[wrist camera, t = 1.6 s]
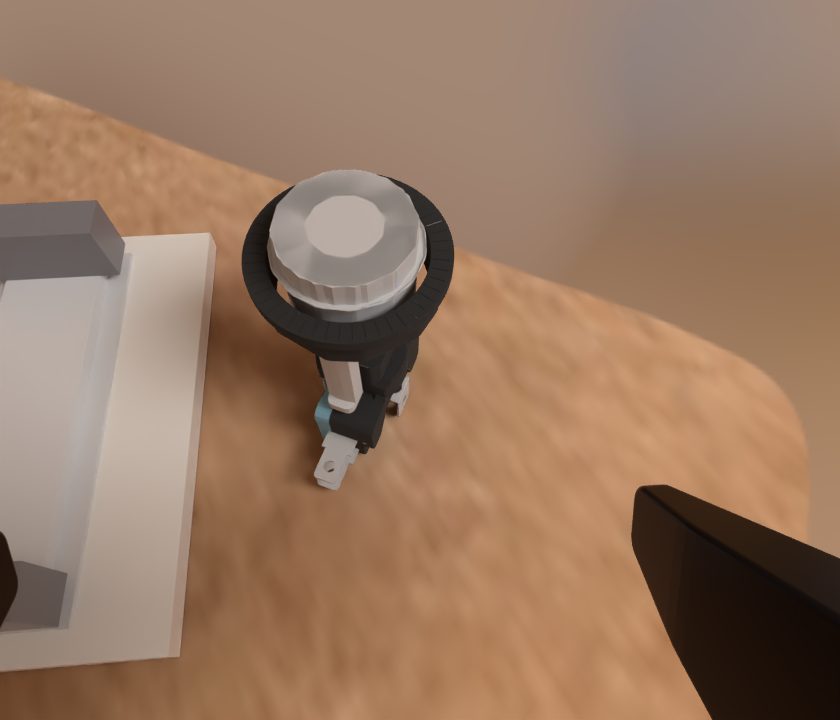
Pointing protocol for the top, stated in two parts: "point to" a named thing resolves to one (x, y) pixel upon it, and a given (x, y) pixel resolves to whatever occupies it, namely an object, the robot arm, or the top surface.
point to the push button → (350, 294)
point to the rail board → (98, 432)
